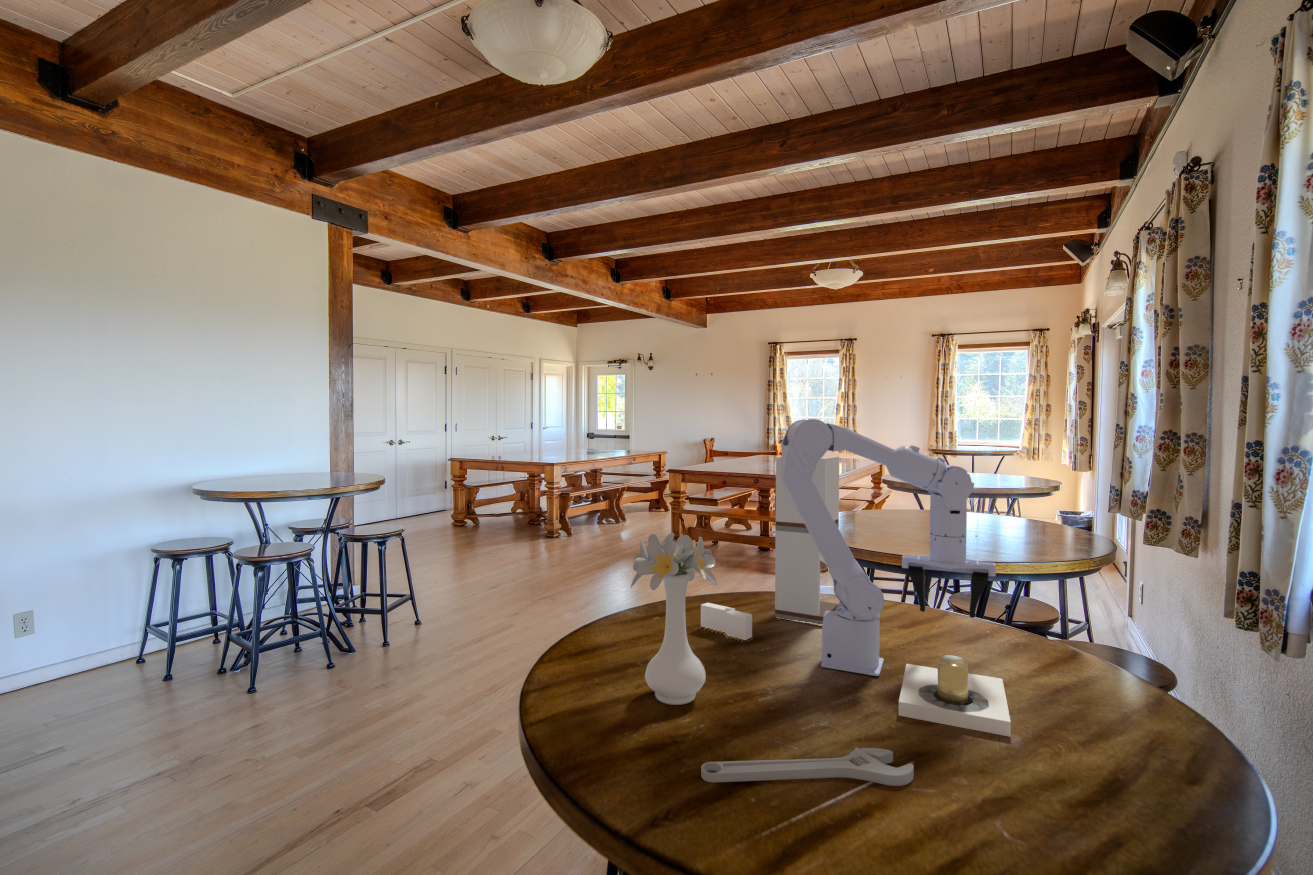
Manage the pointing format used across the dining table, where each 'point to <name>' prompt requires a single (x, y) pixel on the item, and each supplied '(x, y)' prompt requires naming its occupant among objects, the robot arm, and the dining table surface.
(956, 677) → the brass cylinder
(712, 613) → the napkin holder
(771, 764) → the adjustable wrench
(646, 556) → the flower vase
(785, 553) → the white stacked column
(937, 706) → the board
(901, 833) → the dining table surface
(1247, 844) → the dining table surface
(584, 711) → the dining table surface
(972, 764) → the dining table surface
